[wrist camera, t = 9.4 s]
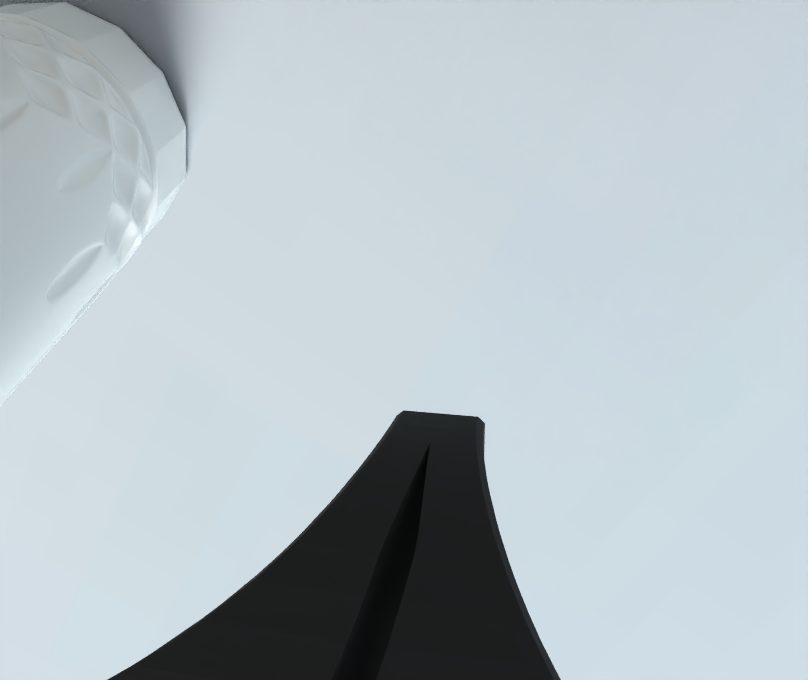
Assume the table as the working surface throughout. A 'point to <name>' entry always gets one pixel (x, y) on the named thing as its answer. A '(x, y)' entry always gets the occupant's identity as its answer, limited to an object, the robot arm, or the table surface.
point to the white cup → (74, 170)
